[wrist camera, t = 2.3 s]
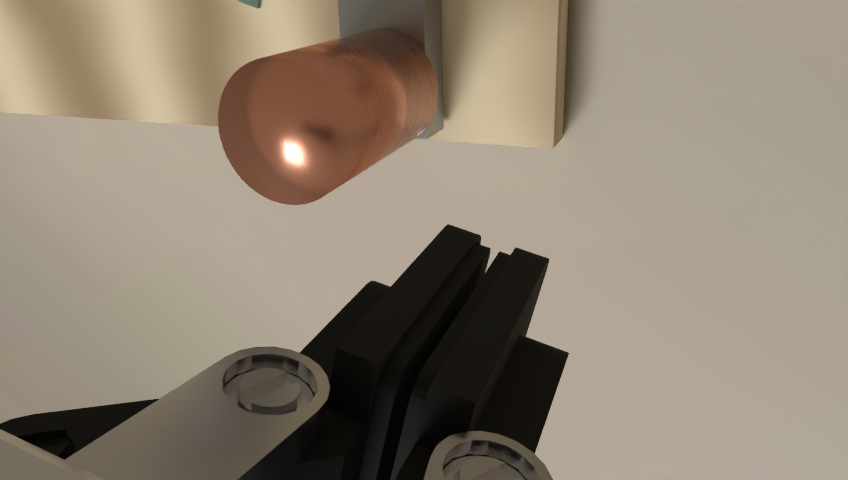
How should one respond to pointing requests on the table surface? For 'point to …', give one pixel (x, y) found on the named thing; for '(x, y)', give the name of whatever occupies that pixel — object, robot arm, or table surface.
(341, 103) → the lever
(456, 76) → the board
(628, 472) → the table surface
